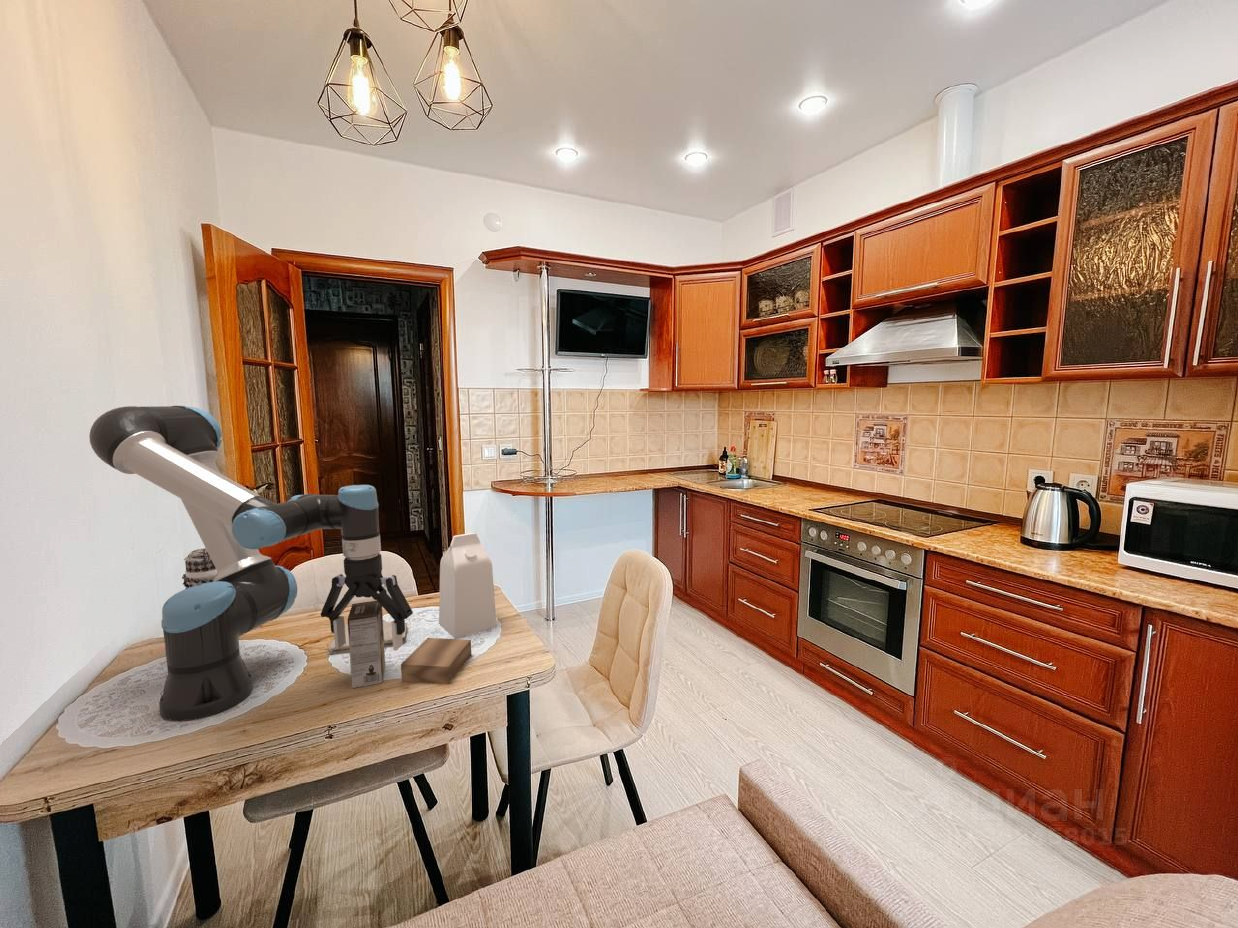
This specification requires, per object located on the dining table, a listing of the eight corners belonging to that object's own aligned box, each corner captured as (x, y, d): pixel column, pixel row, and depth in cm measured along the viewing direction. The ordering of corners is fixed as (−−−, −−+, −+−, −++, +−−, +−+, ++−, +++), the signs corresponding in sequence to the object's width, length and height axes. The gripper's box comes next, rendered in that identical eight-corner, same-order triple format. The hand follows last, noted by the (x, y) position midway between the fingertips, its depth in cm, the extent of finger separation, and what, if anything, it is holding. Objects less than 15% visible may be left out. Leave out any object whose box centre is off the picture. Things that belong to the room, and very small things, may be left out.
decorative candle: (188, 644, 130) (178, 549, 127) (233, 633, 136) (225, 543, 133) (190, 658, 123) (180, 558, 120) (237, 645, 129) (229, 550, 126)
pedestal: (401, 681, 113) (400, 664, 113) (428, 653, 126) (427, 637, 126) (449, 683, 112) (448, 666, 112) (471, 655, 125) (470, 639, 125)
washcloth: (406, 646, 131) (405, 634, 130) (327, 658, 124) (326, 646, 124) (408, 627, 142) (407, 616, 141) (335, 637, 136) (334, 626, 135)
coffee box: (355, 668, 119) (351, 602, 117) (385, 663, 121) (382, 598, 119) (351, 689, 110) (346, 618, 108) (383, 683, 112) (379, 613, 111)
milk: (479, 613, 150) (476, 527, 147) (496, 626, 142) (494, 535, 138) (438, 624, 143) (435, 533, 140) (454, 638, 134) (451, 542, 131)
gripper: (297, 559, 110) (305, 652, 112) (408, 561, 107) (414, 656, 110) (320, 549, 117) (328, 637, 119) (424, 551, 115) (430, 640, 117)
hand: (369, 646), depth 115 cm, fingers open, 13 cm apart
